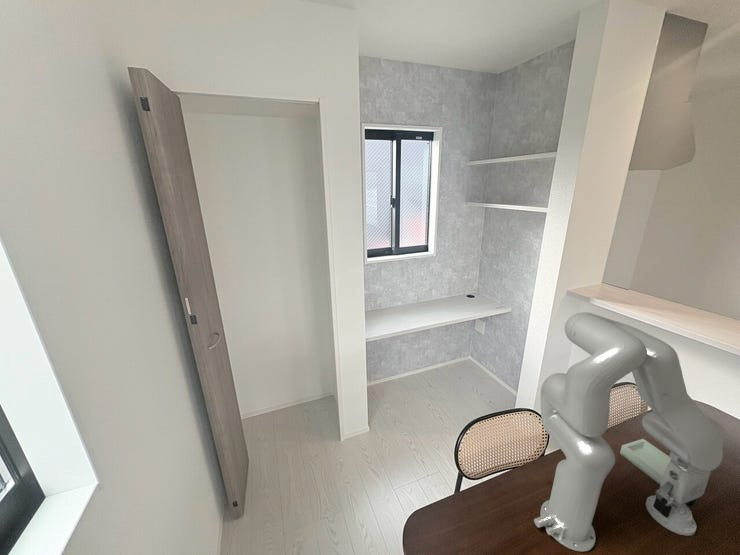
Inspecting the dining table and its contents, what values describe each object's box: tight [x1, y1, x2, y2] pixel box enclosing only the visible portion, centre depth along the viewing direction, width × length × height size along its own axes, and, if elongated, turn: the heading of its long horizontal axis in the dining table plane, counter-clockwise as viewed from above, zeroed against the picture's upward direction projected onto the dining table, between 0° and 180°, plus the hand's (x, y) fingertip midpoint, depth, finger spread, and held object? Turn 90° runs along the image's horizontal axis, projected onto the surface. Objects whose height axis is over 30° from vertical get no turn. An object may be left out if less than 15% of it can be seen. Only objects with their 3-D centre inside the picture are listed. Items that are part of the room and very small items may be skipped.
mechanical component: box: [645, 494, 698, 537], centre depth 82 cm, size 10×4×10 cm
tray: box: [619, 438, 672, 495], centre depth 96 cm, size 10×16×4 cm, turn 15°
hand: (672, 506), depth 82 cm, fingers open, 9 cm apart
